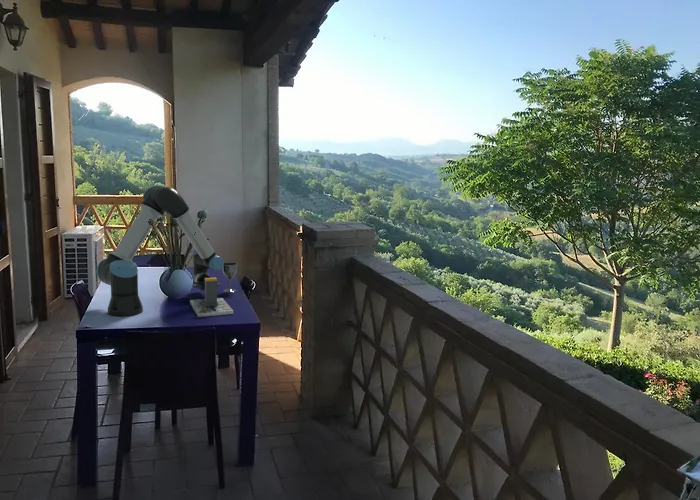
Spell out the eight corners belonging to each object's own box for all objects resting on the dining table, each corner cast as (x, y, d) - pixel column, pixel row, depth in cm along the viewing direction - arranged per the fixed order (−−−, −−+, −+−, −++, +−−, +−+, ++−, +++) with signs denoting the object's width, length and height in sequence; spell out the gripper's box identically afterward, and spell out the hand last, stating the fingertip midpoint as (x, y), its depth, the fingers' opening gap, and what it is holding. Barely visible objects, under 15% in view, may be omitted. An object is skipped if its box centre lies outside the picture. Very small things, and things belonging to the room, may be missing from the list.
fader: (205, 306, 269) (205, 279, 267) (203, 303, 273) (203, 277, 271) (218, 305, 271) (218, 279, 269) (216, 302, 276) (216, 276, 274)
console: (198, 317, 258) (198, 313, 258) (190, 303, 282) (189, 300, 282) (233, 314, 265) (233, 310, 264) (222, 300, 288) (222, 297, 288)
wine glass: (233, 292, 306) (233, 265, 303) (220, 291, 307) (219, 264, 305) (239, 289, 314) (239, 262, 311) (226, 288, 315) (225, 262, 313)
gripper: (216, 287, 298) (226, 297, 277) (191, 288, 293) (198, 299, 271) (216, 273, 297) (225, 282, 275) (190, 274, 291) (198, 284, 270)
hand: (212, 290), depth 273 cm, fingers closed
